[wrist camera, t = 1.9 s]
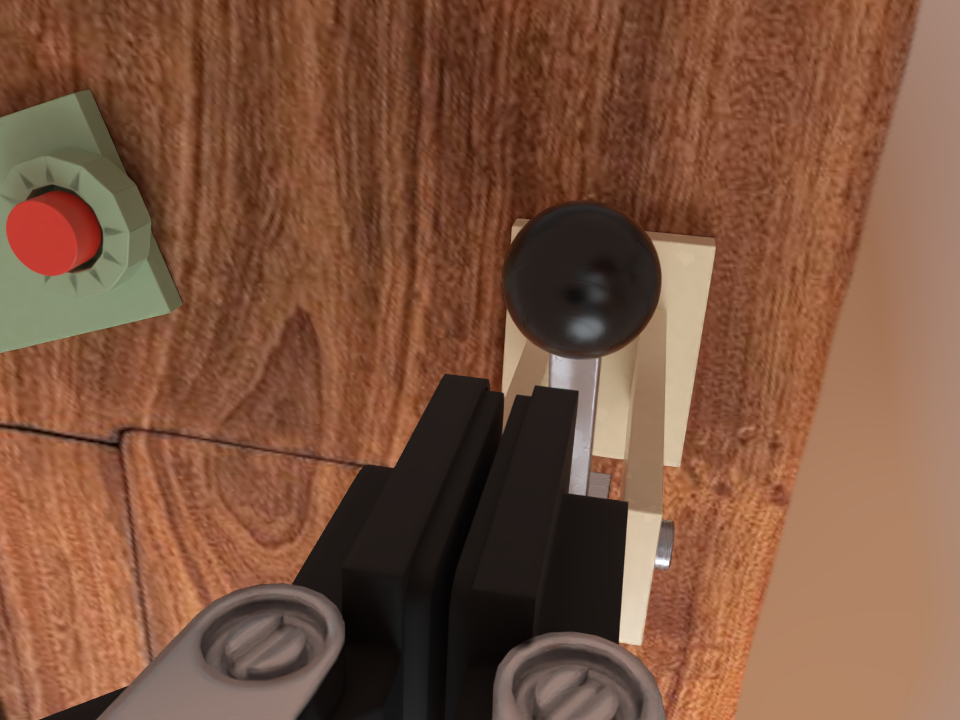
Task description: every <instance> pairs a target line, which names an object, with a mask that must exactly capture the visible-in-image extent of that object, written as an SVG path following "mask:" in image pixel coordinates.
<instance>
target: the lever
mask: <svg viewBox="0 0 960 720" xmlns="http://www.w3.org/2000/svg"><path fill="white" fill-rule="evenodd" d="M661 284H662V273H661V266H660V261H659V257H658V254H657V251H656V249H655V246H654V244H653V242H652V240H651V239H650V237H649V236H648V234H647V233H646V231H645V230H644V229H643V228H642V227H641V225H640V224H639V223H638V222H637V221H635V220H634V219H633V218H632V217H630V216H629V215H628V214H626V213H625V212H623V211H622V210H620V209H618V208H616V207H613V206H611V205H608V204H605V203H601V202H596V201H586V200H579V201H569V202H564V203H561V204H557V205H555V206H552V207H550V208H547V209H545V210H544V211H542V212H540V213H539V214H537V215H536V216H534V217H533V218H532V219H531V220H529V221H528V222H527V223H526V224H525V225H524V226H523V228H522V229H521V230H520V231H519V232H518V234H517V235H516V236H515V238H514V240H513V241H512V243H511V245H510V247H509V249H508V252H507V254H506V257H505V261H504V265H503V271H502V290H503V296H504V301H505V304H506V308H507V310H508V312H509V315H510V317H511V319H512V321H513V322H514V323H515V325H516V326H517V328H518V329H519V331H520V332H521V333H522V334H523V335H524V336H525V337H526V338H527V339H528V340H529V341H530V342H532V343H533V344H534V345H535V346H537V347H538V348H540V349H542V350H544V351H546V352H548V353H549V382H548V387H554V388H562V389H570V390H578V391H579V397H578V408H577V418H576V427H575V437H574V447H573V456H572V466H571V475H570V485H569V493H570V494H577V495H584V496H591V497H598V498H605V499H608V498H609V490H610V482H611V475H610V474H606V473H599V472H592V471H591V465H592V455H593V445H594V434H595V424H596V414H597V404H598V393H599V383H600V373H601V362H602V357H604V356H607V355H610V354H612V353H614V352H617V351H619V350H620V349H622V348H624V347H625V346H627V345H628V344H630V343H631V342H632V341H633V340H635V339H636V338H637V337H638V335H639V334H640V333H641V332H642V331H643V330H644V329H645V328H646V326H647V325H648V323H649V322H650V320H651V318H652V317H653V314H654V312H655V310H656V308H657V305H658V302H659V298H660V293H661Z"/></svg>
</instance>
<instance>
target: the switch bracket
mask: <svg viewBox="0 0 960 720" xmlns="http://www.w3.org/2000/svg"><path fill="white" fill-rule="evenodd" d="M528 221H529V219H519V218H518V219H516V221H515V222H514V224H513V226H512V232H511V243H512V241H513V240H514V238H515V236H516V235H517V234H518V232H519V231H520V230H521V229H522V228H523V226H524V225H525V224H526V223H527V222H528ZM646 233H647V234H648V236H649V237H650V239H651V240H652V242H653V244H654V246H655V249H656V251H657V254H658V257H659V261H660V266H661V273H662V284H661V293H660V298H659V302H658V305H657V308H656V310H655V312H654V314H653V317H652V318H651V320H650V322H649V323H648V325H647V326H646V328H645V329H644V330H643V331H642V332H641V333H640V334H639V335H638V337H637V338H636V339H635V340H633V341H632V342H631V343H630V344H628V345H627V346H625V347H624V348H622V349H620V350H619V351H617V352H614V353H612V354H610V355H607V356H604V357H602V362H601V373H600V383H599V393H598V404H597V414H596V424H595V434H594V445H593V455H595V456H602V457H609V458H616V459H623V460H624V461H623V471H622V481H621V491H620V500H619V501H626V502H628V519H627V533H626V547H625V561H624V576H623V590H622V604H621V618H620V633H619V642H621V643H627V644H632V645H638V646H641V644H642V640H643V634H644V628H645V621H646V615H647V609H648V603H649V596H650V590H651V584H652V577H653V571H654V569H658V570H664V571H667V570H668V569H669V567H670V563H671V557H672V549H673V540H674V522H673V521H670V520H664V519H662V512H663V467H664V465H666V466H673V467H680V464H681V458H682V452H683V446H684V440H685V433H686V427H687V421H688V415H689V409H690V403H691V397H692V391H693V385H694V379H695V373H696V367H697V361H698V355H699V348H700V342H701V336H702V330H703V324H704V318H705V312H706V306H707V300H708V294H709V288H710V282H711V276H712V270H713V263H714V257H715V251H716V243H715V238H710V237H700V236H690V235H680V234H670V233H660V232H650V231H646ZM548 382H549V353H548V352H546V351H544V350H542V349H540V348H538V347H537V346H535V345H534V344H533V343H532V342H530V341H529V340H528V339H527V338H526V337H525V336H524V335H523V334H522V333H521V332H520V331H519V329H518V328H517V326H516V325H515V323H514V322H513V321H512V319H511V317H510V315H509V312H508V310H507V312H506V328H505V344H504V360H503V376H502V393H504V416H503V431H502V435H503V432H504V429H505V426H506V423H507V420H508V417H509V414H510V411H511V408H512V405H513V403H514V400H515V397H516V395H517V394H518V395H526V396H532V392H533V389H534V387H535V385H538V386H546V387H548Z"/></svg>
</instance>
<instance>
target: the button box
mask: <svg viewBox="0 0 960 720" xmlns="http://www.w3.org/2000/svg"><path fill="white" fill-rule="evenodd" d="M50 191H65V192H69V193H71V194H74V195H76V196H77V197H79V198H80V199H82V200H83V201H84V202H85V203H86V204H87V205H88V206H89V207H90V208H91V209H92V211H93V212H94V214H95V216H96V218H97V220H98V222H99V225H100V229H101V243H100V247H99V249H98V251H97V253H96V254H95V256H94V257H93V258H91V259H90V260H88V261H87V262H85V263H83V264H81V265H79V266H77V267H75V268H73V269H71V270H69V271H68V272H66V273H64V274H61V275H57V276H46V275H42V274H39V273H36V272H34V271H32V270H31V269H29V268H28V267H26V266H25V265H24V264H23V263H22V262H21V261H20V260H19V259H18V258H17V257H16V255H15V254H14V252H13V251H12V249H11V247H10V245H9V242H8V239H7V234H6V222H7V218H8V215H9V213H10V212H11V210H12V209H13V208H14V207H15V206H16V205H17V204H19V203H21V202H24V201H26V200H29V199H32V198H34V197H37V196H39V195H42V194H45V193H47V192H50ZM182 304H183V303H182V301H181V298H180V296H179V294H178V291H177V289H176V287H175V284H174V282H173V280H172V278H171V275H170V273H169V271H168V268H167V266H166V264H165V261H164V259H163V257H162V254H161V252H160V250H159V247H158V245H157V243H156V241H155V238H154V236H153V234H152V231H151V218H150V215H149V213H148V211H147V209H146V206H145V204H144V202H143V199H142V197H141V195H140V192H139V190H138V188H137V185H135V183H134V182H133V181H132V180H131V179H130V178H129V177H128V176H127V174H126V171H125V169H124V167H123V164H122V162H121V160H120V157H119V155H118V153H117V150H116V148H115V146H114V143H113V141H112V139H111V137H110V134H109V132H108V130H107V127H106V125H105V123H104V120H103V118H102V116H101V113H100V111H99V109H98V107H97V104H96V102H95V100H94V97H93V95H92V93H91V90H84V91H80V92H76V93H72V94H69V95H66V96H63V97H60V98H57V99H54V100H51V101H48V102H45V103H42V104H39V105H36V106H33V107H30V108H27V109H24V110H21V111H18V112H15V113H12V114H9V115H6V116H3V117H0V353H3V352H7V351H11V350H15V349H20V348H24V347H28V346H32V345H37V344H41V343H45V342H49V341H54V340H58V339H62V338H66V337H70V336H75V335H79V334H83V333H87V332H92V331H96V330H100V329H104V328H109V327H113V326H117V325H121V324H126V323H130V322H134V321H138V320H143V319H147V318H151V317H155V316H160V315H164V314H168V313H171V312H172V311H174V310H175V309H176V308H178V307H179V306H181V305H182Z"/></svg>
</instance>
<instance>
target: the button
mask: <svg viewBox="0 0 960 720" xmlns="http://www.w3.org/2000/svg"><path fill="white" fill-rule="evenodd" d="M6 234H7V239H8V242H9V245H10V247H11V249H12V251H13V252H14V254H15V255H16V257H17V258H18V259H19V260H20V261H21V262H22V263H23V264H24V265H25V266H26V267H28V268H29V269H31V270H32V271H34V272H36V273H39V274H42V275H46V276H57V275H61V274H64V273H66V272H68V271H69V270H71V269H73V268H75V267H77V266H79V265H81V264H83V263H85V262H87V261H88V260H90V259H91V258H93V257H94V256H95V254H96V253H97V251H98V249H99V247H100V243H101V229H100V225H99V222H98V220H97V218H96V216H95V214H94V212H93V211H92V209H91V208H90V207H89V206H88V205H87V204H86V203H85V202H84V201H83V200H82V199H80V198H79V197H77V196H76V195H74V194H71V193H69V192H65V191H50V192H47V193H45V194H42V195H39V196H37V197H34V198H32V199H29V200H26V201H24V202H21V203H19V204H17V205H16V206H15V207H14V208H13V209H12V210H11V212H10V213H9V215H8V218H7V222H6Z"/></svg>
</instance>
